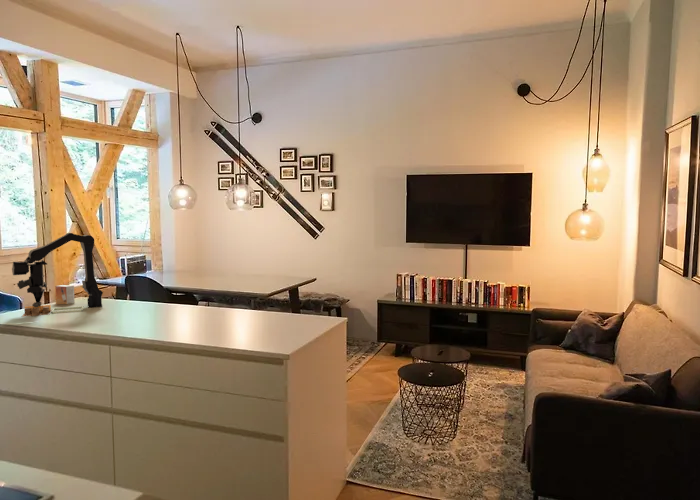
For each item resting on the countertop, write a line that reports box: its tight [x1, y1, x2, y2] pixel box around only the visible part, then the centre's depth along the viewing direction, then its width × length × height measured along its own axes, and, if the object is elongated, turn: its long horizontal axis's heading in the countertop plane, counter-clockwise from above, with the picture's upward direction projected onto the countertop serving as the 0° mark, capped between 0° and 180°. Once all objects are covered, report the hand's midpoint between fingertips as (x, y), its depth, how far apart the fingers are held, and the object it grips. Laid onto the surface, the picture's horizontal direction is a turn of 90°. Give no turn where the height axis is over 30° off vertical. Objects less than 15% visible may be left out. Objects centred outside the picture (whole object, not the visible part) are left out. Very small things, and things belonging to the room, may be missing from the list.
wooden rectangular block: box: [24, 304, 52, 313], centre depth 258 cm, size 11×4×4 cm, turn 114°
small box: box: [54, 284, 76, 305], centre depth 285 cm, size 8×6×10 cm
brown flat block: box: [21, 304, 53, 317], centre depth 257 cm, size 12×14×4 cm
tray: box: [50, 305, 85, 314], centre depth 264 cm, size 14×10×1 cm
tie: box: [32, 301, 42, 307], centre depth 256 cm, size 3×7×2 cm, turn 24°
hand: (38, 303), depth 260 cm, fingers closed
